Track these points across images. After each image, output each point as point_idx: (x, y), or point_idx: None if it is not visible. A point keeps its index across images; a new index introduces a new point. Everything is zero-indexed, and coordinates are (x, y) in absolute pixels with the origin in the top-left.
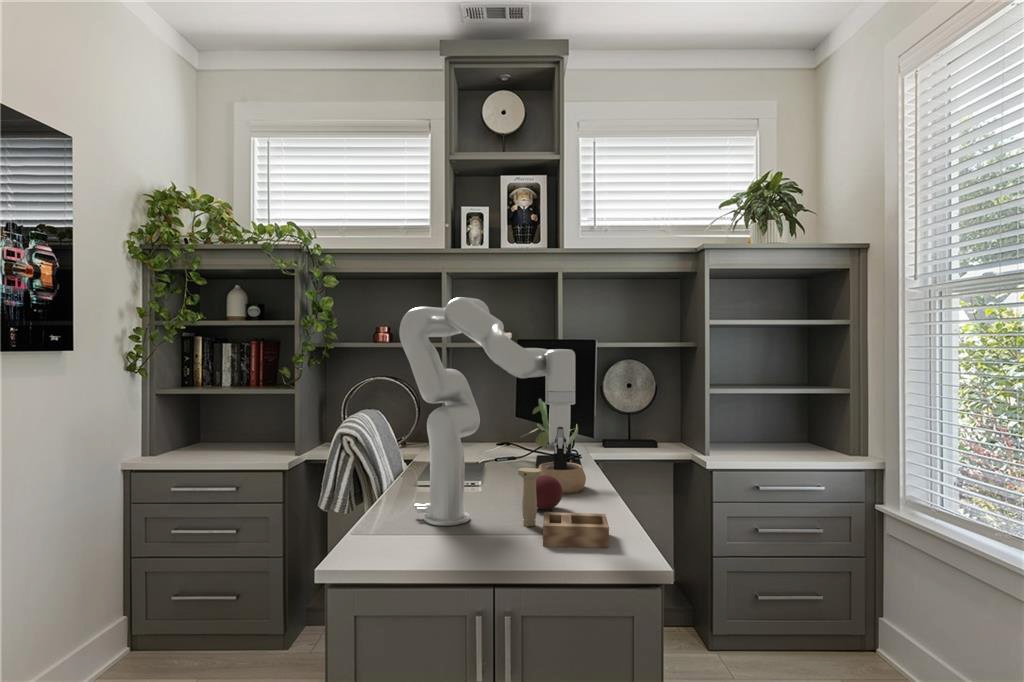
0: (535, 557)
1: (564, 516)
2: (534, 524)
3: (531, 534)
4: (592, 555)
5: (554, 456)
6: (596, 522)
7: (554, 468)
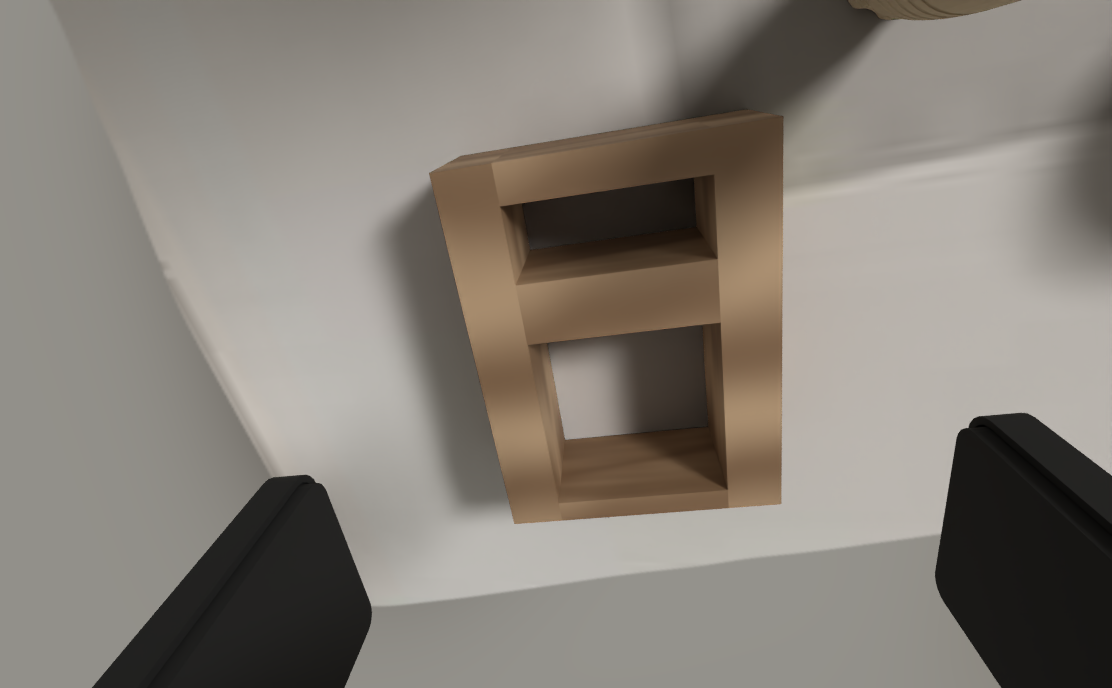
0: (274, 149)
1: (684, 285)
2: (876, 13)
3: (667, 36)
4: (409, 402)
5: (120, 681)
6: (719, 440)
7: (271, 491)
